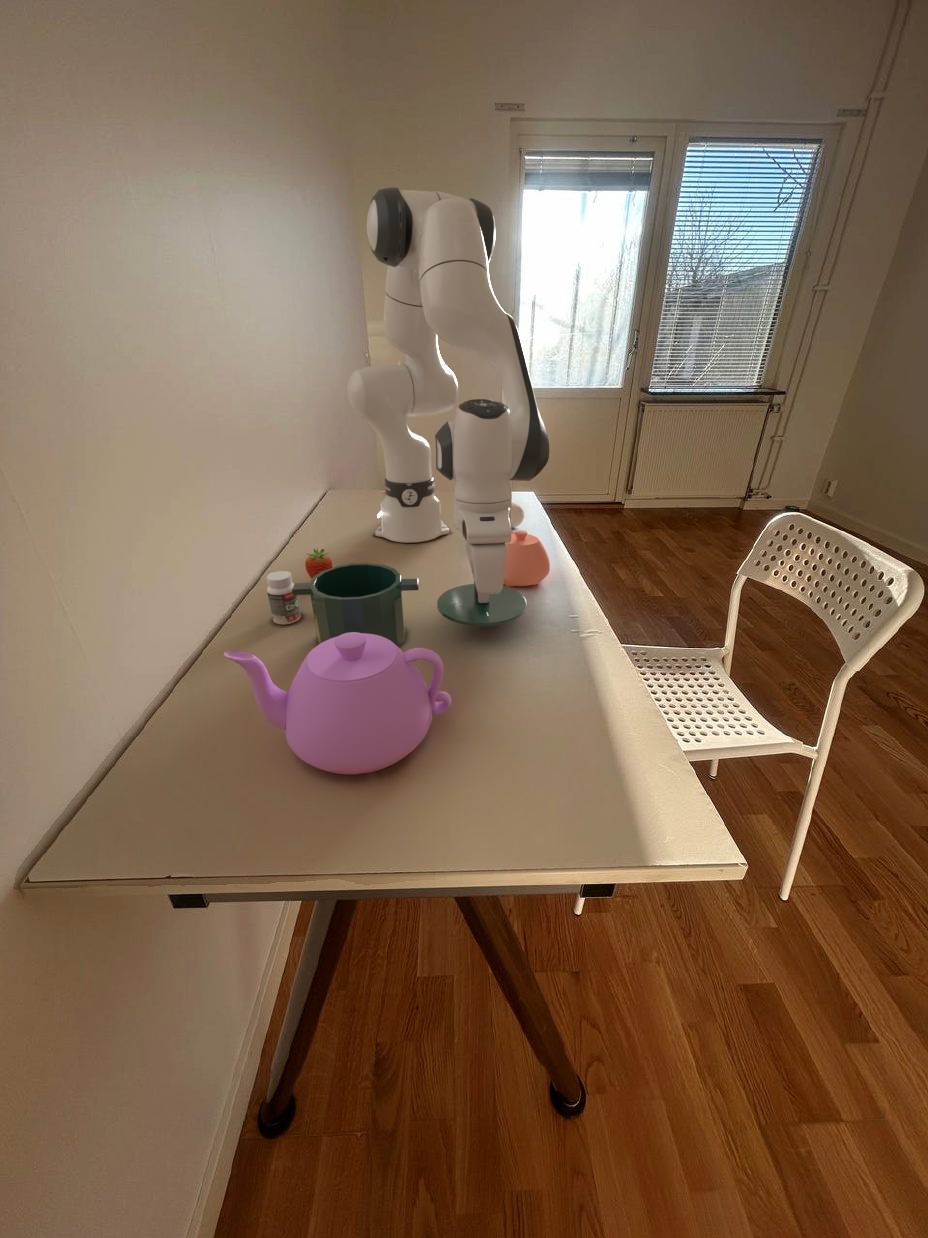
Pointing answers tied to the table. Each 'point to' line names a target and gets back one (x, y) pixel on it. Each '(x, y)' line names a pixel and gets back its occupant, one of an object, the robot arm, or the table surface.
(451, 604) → the lid
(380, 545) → the table surface
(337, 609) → the pot
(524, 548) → the sugar bowl
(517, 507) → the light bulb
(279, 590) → the pill bottle
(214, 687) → the table surface
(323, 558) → the fruit
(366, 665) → the teapot
